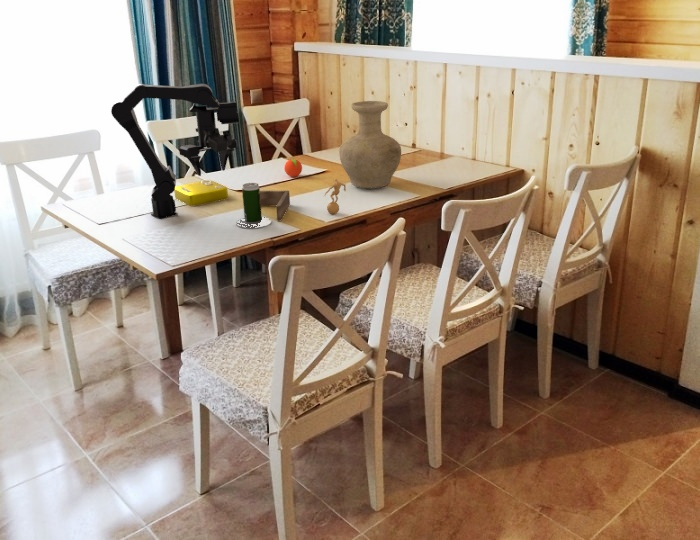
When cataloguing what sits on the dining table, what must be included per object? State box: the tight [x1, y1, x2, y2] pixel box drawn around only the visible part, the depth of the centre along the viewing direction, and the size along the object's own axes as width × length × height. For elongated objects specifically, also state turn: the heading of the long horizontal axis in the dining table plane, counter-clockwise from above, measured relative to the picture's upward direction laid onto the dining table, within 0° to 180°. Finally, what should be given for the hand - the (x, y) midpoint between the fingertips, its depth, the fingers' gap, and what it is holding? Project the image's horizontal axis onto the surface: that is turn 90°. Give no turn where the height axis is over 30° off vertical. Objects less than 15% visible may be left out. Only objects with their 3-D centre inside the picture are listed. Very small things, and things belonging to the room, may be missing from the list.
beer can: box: [241, 182, 263, 224], centre depth 215 cm, size 5×5×12 cm
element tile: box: [173, 179, 229, 207], centre depth 244 cm, size 15×15×5 cm
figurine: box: [324, 178, 347, 215], centre depth 221 cm, size 8×6×12 cm
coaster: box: [236, 216, 268, 228], centre depth 217 cm, size 11×11×1 cm
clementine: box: [284, 158, 303, 178], centre depth 267 cm, size 8×7×7 cm
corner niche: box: [260, 190, 291, 221], centre depth 226 cm, size 14×18×5 cm
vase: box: [338, 100, 402, 189], centre depth 248 cm, size 22×22×30 cm
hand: (211, 173), depth 225 cm, fingers open, 9 cm apart
